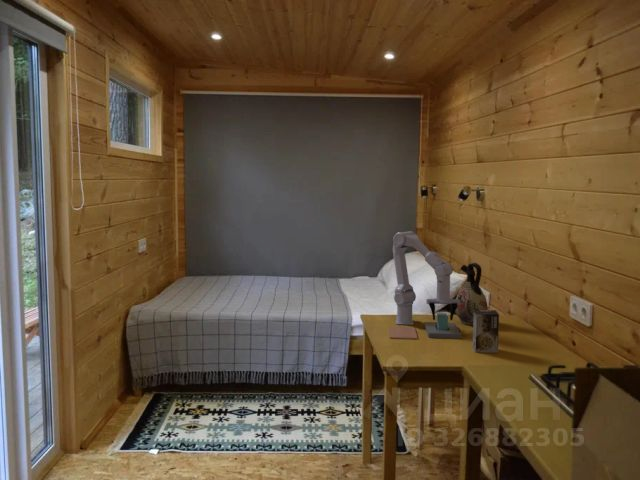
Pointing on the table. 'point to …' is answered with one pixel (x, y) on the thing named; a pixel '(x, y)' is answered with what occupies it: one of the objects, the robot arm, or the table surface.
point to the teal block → (442, 321)
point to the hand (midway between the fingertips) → (442, 319)
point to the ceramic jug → (470, 295)
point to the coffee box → (485, 331)
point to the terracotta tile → (402, 333)
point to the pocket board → (442, 331)
